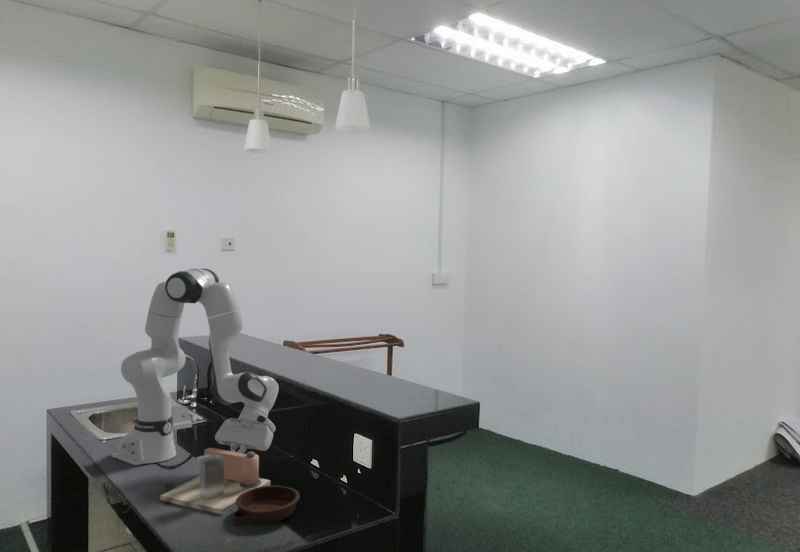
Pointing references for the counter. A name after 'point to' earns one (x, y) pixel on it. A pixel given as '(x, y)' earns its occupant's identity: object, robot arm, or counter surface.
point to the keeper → (211, 476)
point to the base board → (222, 504)
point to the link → (238, 465)
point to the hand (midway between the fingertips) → (233, 458)
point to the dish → (265, 504)
